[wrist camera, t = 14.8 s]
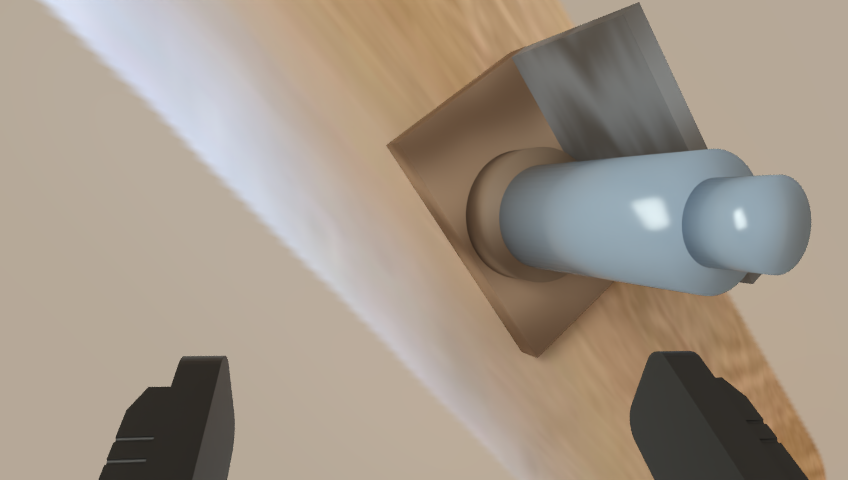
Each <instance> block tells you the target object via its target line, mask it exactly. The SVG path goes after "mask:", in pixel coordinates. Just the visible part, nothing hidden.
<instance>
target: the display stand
mask: <svg viewBox="0 0 848 480" xmlns="http://www.w3.org/2000/svg"><path fill="white" fill-rule="evenodd" d="M386 146H387V147H388V149H389V150H390V152H391V153H392V155H393V156H394V158H395V159H396V161H397V162H398V164H399V165H400V167H401V168H402V170H403V171H404V173H405V174H406V176H407V178H408V179H409V181H410V182H411V184H412V185H413V187H414V188H415V190H416V191H417V193H418V194H419V196H420V197H421V199H422V200H423V202H424V203H425V205H426V207H427V208H428V210H429V211H430V213H431V214H432V216H433V217H434V219H435V220H436V222H437V223H438V225H439V226H440V228H441V229H442V231H443V232H444V234H445V235H446V237H447V239H448V240H449V242H450V243H451V245H452V246H453V248H454V249H455V251H456V252H457V254H458V255H459V257H460V258H461V260H462V261H463V263H464V264H465V266H466V267H467V269H468V271H469V272H470V274H471V275H472V277H473V278H474V280H475V281H476V283H477V284H478V286H479V287H480V289H481V290H482V292H483V293H484V295H485V296H486V298H487V299H488V301H489V303H490V304H491V306H492V307H493V309H494V310H495V312H496V313H497V315H498V316H499V318H500V319H501V321H502V322H503V324H504V325H505V327H506V328H507V330H508V331H509V333H510V335H511V336H512V338H513V339H514V341H515V342H516V344H517V345H518V347H519V348H520V350H521V351H522V352H524V353H526V354H529V355H532V356H534V357H537V358H538V357H539V356H540V355H541V354H542V353H543V352H544V351H545V350H546V349H547V348H548V347H549V346H550V345H551V344H552V343H553V342H554V341H555V340H556V339H557V338H558V337H559V336H560V335H561V334H562V333H563V332H564V331H565V330H566V329H567V328H568V327H569V326H570V325H571V324H572V323H573V322H574V321H575V320H576V319H577V318H578V317H579V316H580V315H581V314H582V313H583V312H584V311H585V310H586V309H587V308H588V307H589V306H590V305H591V304H592V303H593V302H594V301H595V300H596V299H597V298H598V297H599V296H600V295H601V294H602V293H603V292H604V291H605V290H606V289H607V288H608V287H609V286H610V285H611V284H612V283H613V282H614V281H611V280H605V279H599V278H593V277H587V276H581V275H575V274H569V273H562V272H556V271H550V270H544V269H538V268H533V267H529V266H527V265H525V264H523V263H521V262H520V261H518V260H517V259H516V258H515V257H514V256H513V255H512V254H511V253H510V251H509V250H508V248H507V247H506V245H505V243H504V240H503V238H502V235H501V231H500V224H499V212H500V205H501V201H502V198H503V195H504V193H505V190H506V188H507V187H508V185H509V183H510V182H511V181H512V180H513V178H514V177H515V176H517V175H518V174H519V173H520V172H521V171H523V170H525V169H527V168H529V167H531V166H535V165H541V164H552V163H563V162H574V161H585V160H596V159H607V158H618V157H629V156H640V155H650V154H661V153H672V152H683V151H694V150H705V149H707V147H706V145H705V142H704V140H703V138H702V136H701V134H700V132H699V129H698V128H697V125H696V123H695V121H694V119H693V117H692V114H691V113H690V110H689V108H688V106H687V104H686V102H685V99H684V98H683V95H682V93H681V91H680V89H679V87H678V85H677V82H676V80H675V78H674V76H673V74H672V72H671V70H670V68H669V65H668V63H667V61H666V59H665V57H664V55H663V52H662V50H661V48H660V46H659V44H658V42H657V40H656V38H655V36H654V34H653V31H652V29H651V27H650V25H649V23H648V20H647V18H646V16H645V14H644V12H643V10H642V8H641V6H640V3H639V2H638V3H636V4H633V5H631V6H629V7H626V8H623V9H621V10H618V11H616V12H613V13H611V14H608V15H606V16H603V17H600V18H598V19H596V20H593V21H590V22H588V23H585V24H583V25H580V26H578V27H575V28H573V29H570V30H567V31H565V32H562V33H560V34H557V35H555V36H552V37H550V38H547V39H545V40H542V41H540V42H537V43H535V44H532V45H530V46H527V47H523V48H521V49H518V50H516V51H513V52H511V53H509V54H508V55H506V56H505V57H504V58H502V59H501V60H500V61H498V62H497V63H496V64H494V65H493V66H492V67H490V68H489V69H488V70H486V71H485V72H484V73H482V74H481V75H480V76H478V77H477V78H476V79H474V80H473V81H472V82H470V83H469V84H468V85H466V86H465V87H464V88H462V89H461V90H460V91H458V92H457V93H456V94H454V95H453V96H452V97H450V98H449V99H448V100H446V101H445V102H444V103H442V104H441V105H440V106H438V107H437V108H436V109H434V110H433V111H432V112H430V113H429V114H428V115H426V116H425V117H424V118H422V119H421V120H420V121H418V122H417V123H416V124H414V125H413V126H412V127H410V128H409V129H407V130H406V131H405V132H403V133H402V134H401V135H399V136H398V137H397V138H395V139H394V140H393V141H391V142H390V143H389V144H387V145H386ZM760 275H761V274H759V273H750V272H748V273H747V274H746V275H745V277H744V278H743V279H742V280H741V281H740V282H742V283H749V284H753V283H754V282H755V281H756V280H757V279H758V277H759V276H760Z"/></svg>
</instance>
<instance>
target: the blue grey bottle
mask: <svg viewBox="0 0 848 480" xmlns="http://www.w3.org/2000/svg"><path fill="white" fill-rule="evenodd" d="M499 224H500V231H501V235H502V238H503V240H504V243H505V245H506V247H507V248H508V250H509V251H510V253H511V254H512V255H513V256H514V257H515V258H516V259H517V260H518V261H520V262H521V263H523V264H525V265H527V266H529V267H533V268H538V269H544V270H550V271H556V272H562V273H569V274H575V275H581V276H587V277H593V278H599V279H605V280H611V281H617V282H623V283H630V284H636V285H642V286H648V287H654V288H660V289H666V290H672V291H678V292H685V293H691V294H697V295H703V296H714V295H719V294H722V293H725V292H727V291H729V290H730V289H732V288H733V287H734V286H736V285H737V284H738V283H739V282H740V281H741V280H742V279H743V278H744V277H745V275H746V274H747V273H748V272H750V273H759V274H768V275H781V274H784V273H786V272H788V271H790V270H791V269H793V268H794V267H795V266H796V264H797V263H798V262H799V261H800V259H801V258H802V256H803V254H804V252H805V250H806V247H807V245H808V241H809V237H810V231H811V230H810V229H811V212H810V206H809V203H808V199H807V196H806V194H805V192H804V190H803V189H802V187H801V186H800V185H799V183H798V182H797V181H795V180H794V179H793V178H791V177H789V176H786V175H762V176H753V174H752V172H751V171H750V169H749V168H748V166H747V165H746V164H745V163H744V162H743V161H742V160H741V159H740V158H739V157H737V156H736V155H734V154H732V153H731V152H728V151H726V150H721V149H705V150H694V151H683V152H672V153H661V154H650V155H640V156H629V157H618V158H607V159H596V160H585V161H574V162H563V163H552V164H541V165H535V166H531V167H529V168H527V169H525V170H523V171H521V172H520V173H519V174H518V175H517V176H515V177H514V178H513V180H512V181H511V182H510V183H509V185H508V187H507V188H506V190H505V193H504V195H503V198H502V201H501V205H500V212H499Z"/></svg>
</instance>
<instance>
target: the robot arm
mask: <svg viewBox="0 0 848 480" xmlns="http://www.w3.org/2000/svg"><path fill="white" fill-rule="evenodd" d="M234 426H235V419H234V409H233V399H232V390H231V382H230V373H229V364H228V359H227V357H226V356H184V357H182V358H181V360H180V362H179V364H178V367H177V370H176V373H175V376H174V379H173V382H172V385H171V387H148V388H147V389H146V390H145V391H144V392H143V394H142V395H141V396H140V397H139V398H138V399H137V400H136V401H135V402H134V403H133V404H132V405H131V406H130V407H129V408H128V409H127V410H126V413H125V415H124V418H123V420H122V423H121V425H120V428H119V430H118V433H117V435H116V442H114V443H113V445H112V448H111V450H110V453H109V455H108V457H107V464H106V465H104V467H103V470H102V473H101V475H100V477H99V480H227V477H228V472H229V467H230V461H231V456H232V451H233V443H234V430H235V427H234ZM630 426H631V431H632V434H633V437H634V440H635V442H636V444H637V446H638V448H639V450H640V452H641V454H642V456H643V458H644V460H645V462H646V464H647V466H648V468H649V470H650V472H651V474H652V476H653V478H654V480H808V478H807V477H806V476H805V474H804V473H803V472H802V470H801V469H800V468H799V466H798V465H797V464H796V462H795V461H794V460H793V458H792V457H791V456H790V454H789V453H788V452H787V450H786V449H785V448H784V446H783V445H782V444H781V443H778V442H777V437H776V436H775V434H774V433H773V432H772V430H771V429H770V428H769V426H768V425H767V424H764V423H763V418H762V417H761V416H760V414H759V413H758V412H757V410H756V409H755V408H754V406H753V405H752V404H751V402H750V401H749V400H748V398H747V397H746V396H744V395H743V394H742V393H741V392H739V391H738V390H737V389H736V388H734V387H733V386H732V385H731V384H729V383H728V382H727V381H725V380H724V379H723V378H722V377H721V378H715V377H714V376H713V374H712V373H711V371H710V370H709V369H708V367H707V366H706V365H705V363H704V362H703V360H702V359H701V358H700V356H699V355H698V354H696V353H695V352H692V351H663V352H653V353H652V354H651V355H650V356H649V358H648V360H647V363H646V366H645V369H644V371H643V374H642V377H641V380H640V383H639V386H638V388H637V391H636V394H635V397H634V400H633V402H632V405H631V410H630Z"/></svg>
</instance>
